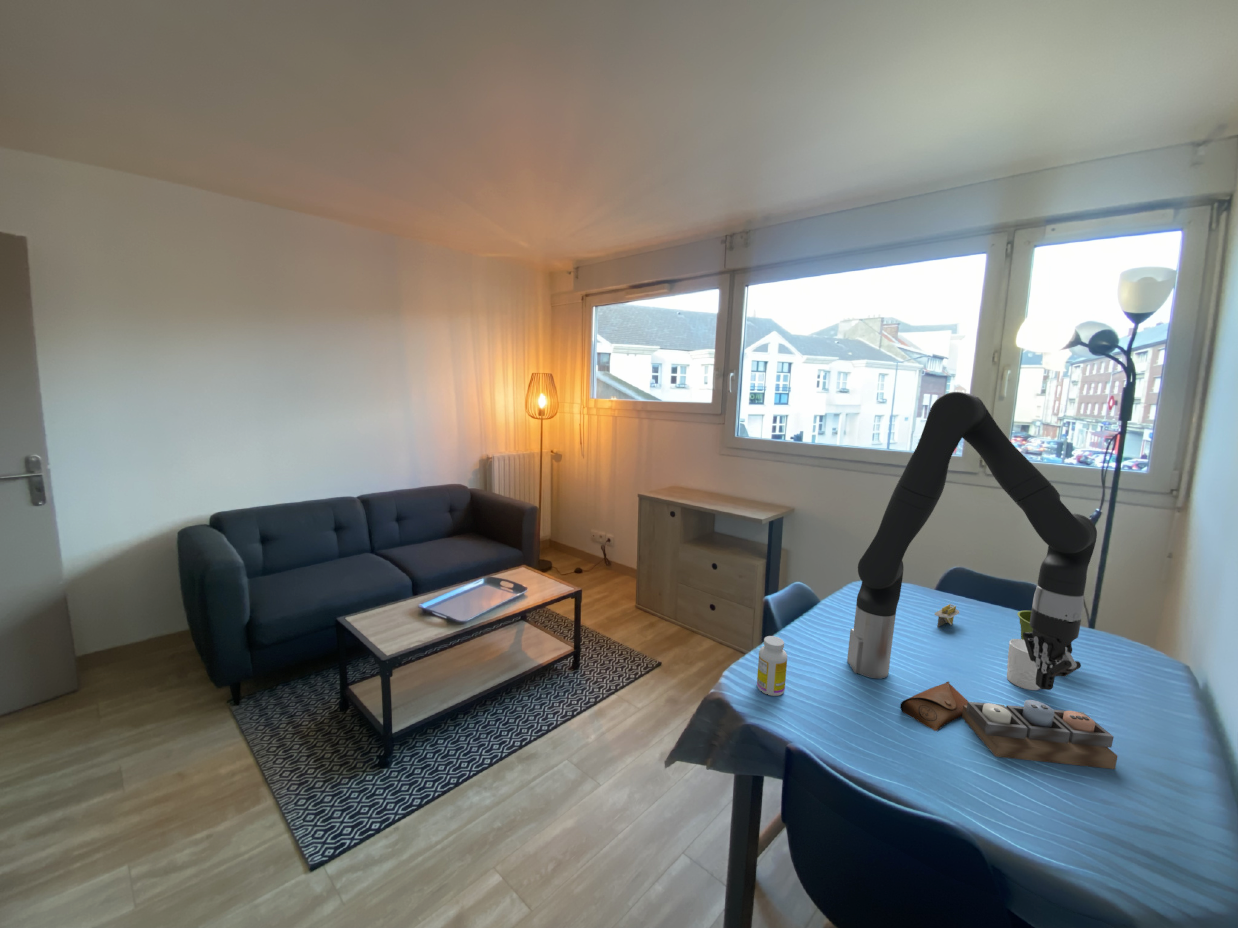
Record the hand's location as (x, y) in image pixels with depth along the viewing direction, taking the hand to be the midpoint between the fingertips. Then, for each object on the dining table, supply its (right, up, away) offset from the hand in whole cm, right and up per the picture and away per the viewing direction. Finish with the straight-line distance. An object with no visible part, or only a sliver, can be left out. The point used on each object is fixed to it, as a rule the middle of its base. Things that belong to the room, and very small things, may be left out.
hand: (1043, 687), depth 101 cm
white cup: (+15, -10, +23) cm, 29 cm away
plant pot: (+30, -8, +35) cm, 47 cm away
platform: (+16, -5, +53) cm, 55 cm away
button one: (-8, -9, +2) cm, 12 cm away
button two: (0, -7, +1) cm, 8 cm away
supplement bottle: (-52, -9, +18) cm, 56 cm away
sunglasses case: (-14, -11, +12) cm, 22 cm away
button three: (+8, -9, +1) cm, 12 cm away
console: (0, -13, +2) cm, 13 cm away
